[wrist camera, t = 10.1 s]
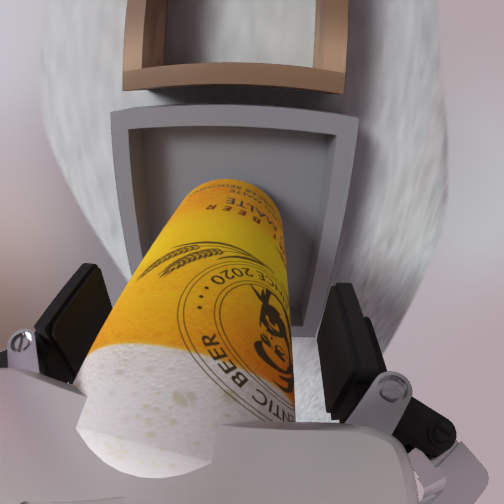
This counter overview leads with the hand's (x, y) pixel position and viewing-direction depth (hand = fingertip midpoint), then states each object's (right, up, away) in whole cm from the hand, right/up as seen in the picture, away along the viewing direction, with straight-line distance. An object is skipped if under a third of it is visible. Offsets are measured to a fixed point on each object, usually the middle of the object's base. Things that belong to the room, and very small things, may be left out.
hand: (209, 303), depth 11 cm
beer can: (0, +4, +6) cm, 7 cm away
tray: (0, +4, +6) cm, 7 cm away
